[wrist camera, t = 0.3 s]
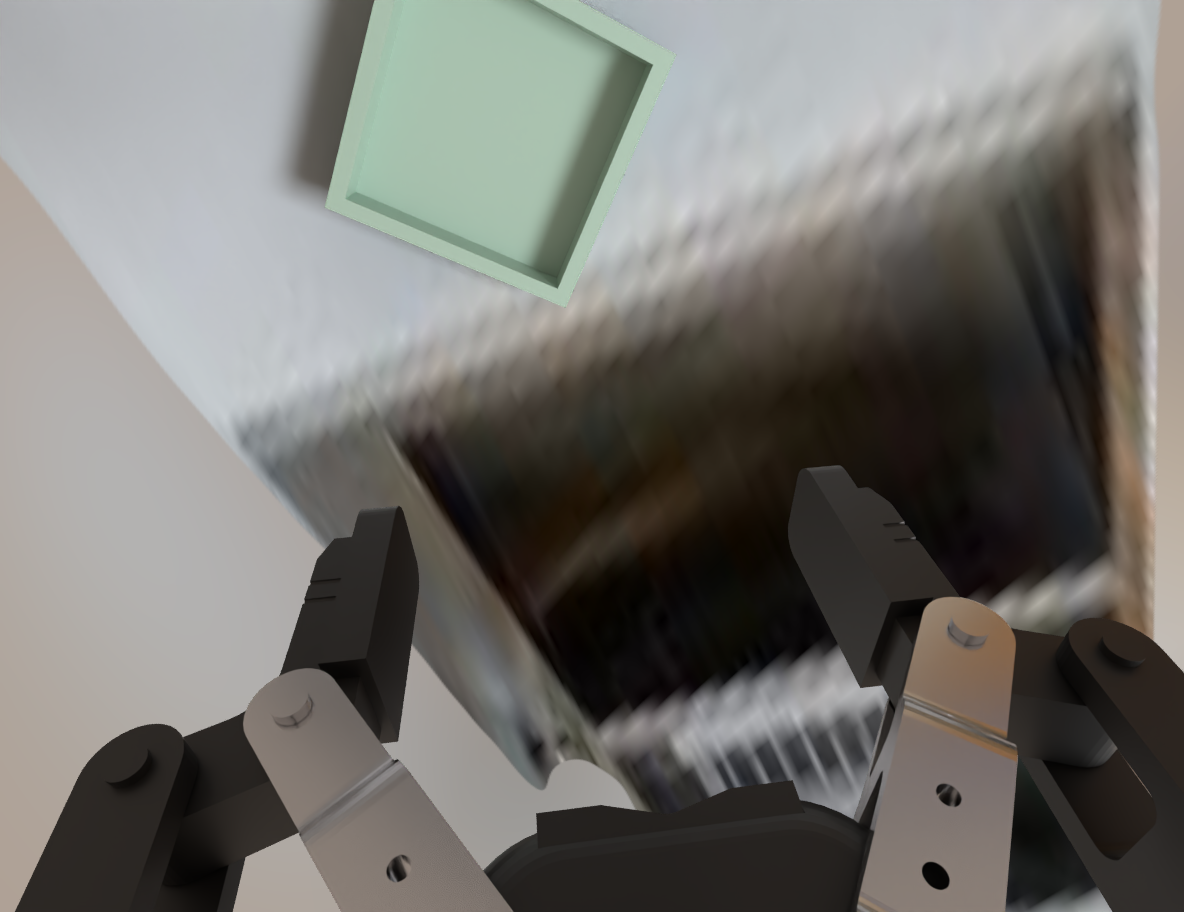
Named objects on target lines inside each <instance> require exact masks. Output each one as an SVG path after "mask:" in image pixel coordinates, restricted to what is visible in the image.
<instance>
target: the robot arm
mask: <svg viewBox="0 0 1184 912" xmlns="http://www.w3.org/2000/svg"><path fill="white" fill-rule="evenodd" d="M788 535H789V543H790V547H791V550H792V553H793V555H794V557H795V559H796V561H797V563H798V565H799V567H800V569H801V571H802V573H803V575H804V577H805V579H806V581H807V583H808V585H809V587H810V589H811V591H812V593H813V595H814V597H815V599H816V601H817V603H818V605H819V607H820V609H821V611H822V613H823V615H824V617H825V619H826V621H827V623H828V625H829V627H830V629H831V631H832V633H833V635H834V637H835V639H836V641H837V643H838V645H839V647H840V649H841V651H842V652H843V654H844V656H845V658H846V660H847V662H848V664H849V666H850V668H851V670H852V672H853V674H854V676H855V678H856V680H857V682H858V684H859V686H860V688H864V687H872V686H881V685H883V687H884V689H885V691H886V693H887V695H888V696H889V699H888V701H887V703H886V706H885V709H884V713H883V717H882V721H881V724H880V728H879V732H878V736H877V739H876V743H875V747H874V751H873V754H872V758H871V762H870V766H869V770H868V773H867V777H866V781H865V785H864V788H863V791H862V795H861V798H860V801H859V804H858V807H857V810H856V813H855V816H854V819H851V818H849V817H847V816H845V815H844V814H842V813H840V812H837V811H835V810H832V809H830V808H827V807H825V806H822V805H818V804H815V803H811V802H807V801H801V800H799V797H798V794H797V791H796V789H795V786H794V783H793V780H791V781H784V782H776V783H768V784H760V785H753V786H745V787H737V788H730V789H728V790H726V791H724V792H721V793H719V794H717V795H714V796H712V797H710V798H708V799H705V800H703V801H701V802H698V803H696V804H694V805H691V806H689V807H687V808H685V809H682V810H680V811H678V812H675V813H672V814H660V813H653V812H646V811H639V810H631V809H624V808H617V807H610V806H603V805H598V806H590V807H583V808H575V809H567V810H559V811H552V812H544V813H536V817H537V833H536V834H534V835H532V836H529V837H527V838H525V839H523V840H521V841H520V842H518V843H516V844H515V845H513V846H511V847H510V848H509V849H507V850H506V851H504V852H503V853H502V854H501V855H499V856H498V857H497V858H496V859H495V860H494V861H493V862H492V863H490V864H489V866H487V867H486V868H485V869H484V870H482V869H481V868H480V866H479V865H478V863H477V862H476V861H475V860H474V858H473V857H472V855H471V854H470V853H469V851H468V850H467V849H466V847H465V846H464V845H463V843H462V842H461V841H460V839H459V838H458V836H457V835H456V834H455V832H454V831H453V830H452V828H451V827H450V826H449V824H448V823H447V822H446V820H445V819H444V818H443V816H442V815H441V814H440V812H439V811H438V810H437V808H436V807H435V806H434V804H433V803H432V801H431V800H430V799H429V797H428V796H427V795H426V793H425V792H424V791H423V790H422V788H421V787H420V785H419V784H418V783H417V781H416V780H415V779H414V778H413V776H412V775H411V773H410V772H409V771H408V769H407V768H406V767H405V766H404V765H403V764H402V763H401V762H400V761H399V760H398V759H397V760H393V759H392V757H391V756H390V755H389V754H388V752H387V751H386V750H385V748H384V747H383V746H382V744H381V743H389V742H397V741H398V737H399V730H400V723H401V716H402V709H403V701H404V694H405V687H406V680H407V672H408V665H409V658H410V651H411V643H412V636H413V629H414V622H415V614H416V607H417V600H418V592H419V573H418V565H417V560H416V556H415V553H414V549H413V545H412V542H411V538H410V534H409V531H408V527H407V523H406V520H405V516H404V513H403V510H402V508H401V507H400V506H395V507H385V508H374V509H364V510H361V511H360V512H359V514H358V517H357V521H356V524H355V528H354V532H353V535H352V537H347V538H337V539H334V540H333V541H332V542H331V543H330V545H329V546H328V547H327V548H326V549H325V551H324V552H323V553H322V554H321V555H320V556H319V558H318V559H317V561H316V565H315V568H314V571H313V574H312V577H311V580H310V583H311V584H310V586H308V590H307V593H306V596H305V604H303V605H302V608H301V611H300V614H299V618H298V621H297V624H296V627H295V630H294V633H293V636H292V639H291V643H290V646H289V649H288V652H287V655H286V658H285V661H284V664H283V668H282V670H281V673H280V675H279V677H277V678H275V679H273V680H272V681H270V682H269V683H268V684H266V685H265V686H264V687H263V688H262V689H261V690H260V691H259V692H258V693H257V694H256V695H255V696H254V697H253V699H252V701H251V702H250V703H249V705H248V708H247V710H246V711H245V712H243V713H241V714H240V715H238V716H235V717H233V718H231V719H229V720H226V721H224V722H221V723H219V724H216V725H214V726H211V727H208V728H206V729H203V730H201V731H198V732H196V733H193V734H191V735H188V736H185V737H182V735H181V734H180V733H179V732H178V731H177V730H176V729H174V728H173V727H171V726H168V725H164V724H149V725H144V726H140V727H137V728H134V729H132V730H129V731H128V732H125V733H123V734H121V735H120V736H118V737H116V738H115V739H113V740H111V741H110V742H109V743H107V744H106V745H105V746H104V747H102V748H101V749H100V750H99V751H98V752H97V753H96V754H95V755H94V756H93V757H92V758H91V759H90V760H89V762H88V763H87V764H86V766H85V767H84V769H83V770H82V772H81V773H80V775H79V777H78V779H77V781H76V783H75V785H74V788H73V790H72V792H71V794H70V796H69V798H68V800H67V802H66V804H65V807H64V809H63V811H62V813H61V815H60V817H59V819H58V821H57V824H56V826H55V828H54V830H53V832H52V834H51V836H50V839H49V841H48V843H47V845H46V847H45V849H44V851H43V854H42V855H41V858H40V860H39V862H38V864H37V866H36V868H35V870H34V872H33V875H32V877H31V879H30V881H29V883H28V885H27V887H26V889H25V892H24V894H23V896H22V898H21V900H20V902H19V905H18V906H17V909H16V911H15V912H233V908H234V904H235V900H236V895H237V891H238V886H239V883H240V878H241V874H242V870H243V866H244V861H245V857H247V856H249V855H251V854H253V853H255V852H258V851H259V850H262V849H264V848H266V847H268V846H271V845H273V844H275V843H277V842H279V841H281V840H284V839H286V838H288V837H290V836H292V835H294V834H296V833H300V834H299V835H300V837H301V839H302V841H303V843H304V845H305V847H306V848H307V850H308V852H309V854H310V856H311V858H312V860H313V861H314V863H315V865H316V867H317V869H318V870H319V872H320V874H321V876H322V878H323V879H324V881H325V883H326V885H327V887H328V889H329V890H330V892H331V894H332V896H333V898H334V899H335V901H336V903H337V905H338V907H339V908H340V910H341V912H1005V904H1006V892H1007V880H1008V868H1009V856H1010V844H1011V832H1012V820H1013V808H1014V796H1015V784H1016V772H1017V759H1018V755H1019V757H1020V758H1021V760H1022V762H1023V763H1024V765H1025V767H1026V768H1027V770H1028V772H1029V773H1030V775H1031V777H1032V778H1033V780H1034V782H1035V783H1036V785H1037V787H1038V788H1039V790H1040V792H1041V793H1042V795H1043V797H1044V798H1045V800H1046V802H1047V803H1048V805H1049V807H1050V808H1051V810H1052V812H1053V813H1054V815H1055V817H1056V818H1057V820H1058V822H1059V823H1060V825H1061V827H1062V828H1063V830H1064V832H1065V833H1066V835H1067V837H1068V838H1069V840H1070V842H1071V843H1072V845H1073V847H1074V848H1075V850H1076V852H1077V853H1078V855H1079V857H1080V858H1081V860H1082V862H1083V863H1084V865H1085V867H1086V868H1087V870H1088V872H1089V873H1090V875H1091V877H1092V878H1093V880H1094V882H1095V883H1096V885H1097V887H1098V888H1099V890H1100V892H1101V893H1102V895H1103V897H1104V898H1105V900H1106V902H1107V903H1108V905H1109V907H1110V908H1111V910H1112V912H1184V673H1183V671H1182V670H1181V669H1180V668H1179V667H1178V666H1177V665H1176V664H1175V663H1174V662H1173V661H1172V659H1171V658H1170V657H1169V656H1168V655H1167V654H1166V653H1165V652H1164V651H1163V650H1162V649H1161V648H1160V647H1159V646H1158V645H1157V644H1156V643H1155V642H1154V641H1153V640H1151V639H1150V638H1149V637H1147V636H1146V635H1144V634H1143V633H1141V632H1139V631H1137V630H1136V629H1134V628H1132V627H1129V626H1127V625H1125V624H1122V623H1119V622H1116V621H1112V620H1108V619H1102V618H1087V619H1082V620H1080V621H1077V622H1076V623H1074V624H1073V625H1072V627H1071V628H1070V630H1069V631H1068V633H1067V634H1066V636H1065V637H1062V636H1055V635H1049V634H1042V633H1036V632H1029V631H1023V630H1017V629H1013V628H1010V627H1009V625H1008V624H1007V623H1006V621H1005V620H1004V619H1003V618H1002V617H1000V616H999V615H998V614H997V613H996V612H994V611H993V610H991V609H990V608H988V607H986V606H984V605H982V604H980V603H978V602H975V601H972V600H969V599H965V598H960V596H959V595H958V594H957V592H956V591H955V590H954V588H953V587H952V586H951V584H950V583H949V582H948V580H947V579H946V577H945V576H944V575H943V573H942V572H941V571H940V569H939V568H938V567H937V565H936V564H935V563H934V561H933V560H932V559H931V557H930V556H929V555H928V553H927V552H926V550H925V549H924V548H923V546H922V545H921V544H920V542H919V541H916V539H915V538H916V537H915V536H914V534H913V533H912V532H911V530H910V529H909V527H908V526H905V525H904V521H903V519H902V518H901V517H900V515H899V514H898V513H897V511H896V510H895V509H894V507H893V506H892V505H891V503H890V502H888V501H887V500H885V499H884V498H883V497H881V496H880V495H878V494H877V493H875V492H874V491H873V490H871V489H870V488H857V486H856V485H855V484H854V482H853V481H852V479H851V478H850V476H849V475H848V474H847V472H846V471H845V469H844V468H843V467H841V466H839V465H836V466H826V467H815V468H805V469H802V470H801V471H800V472H799V475H798V479H797V484H796V489H795V494H794V499H793V504H792V509H791V514H790V520H789V525H788ZM1117 748H1118V750H1119V751H1120V752H1121V754H1122V755H1123V756H1124V758H1125V759H1126V761H1127V762H1128V763H1129V765H1130V766H1131V767H1132V769H1133V770H1134V771H1135V773H1136V774H1137V776H1138V777H1139V778H1140V780H1141V781H1142V782H1143V784H1144V785H1145V786H1146V788H1147V789H1148V791H1149V792H1150V794H1151V796H1152V797H1151V796H1150V794H1149V793H1148V791H1147V790H1146V789H1145V787H1144V786H1143V785H1142V783H1141V782H1140V781H1139V779H1138V778H1137V776H1136V775H1135V774H1134V772H1133V771H1132V770H1131V768H1130V767H1129V765H1128V764H1127V763H1126V761H1125V760H1124V759H1123V757H1122V756H1121V755H1120V753H1119V752H1118V750H1117Z"/></svg>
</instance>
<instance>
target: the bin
mask: <svg viewBox="0 0 1184 912" xmlns="http://www.w3.org/2000/svg"><path fill="white" fill-rule="evenodd" d="M675 57H676V54H674V53H672V52H671V51H669V50H667V49H665V48H663V47H662V46H660V45H658V44H656V43H654V42H653V41H651V40H649V39H647V38H645V37H643V36H642V35H640V34H638V33H636V32H634V31H633V30H631V29H629V28H627V27H625V26H624V25H622V24H620V23H618V22H616V21H615V20H613V19H611V18H609V17H607V16H606V15H604V14H602V13H600V12H598V11H597V10H595V9H593V8H591V7H589V6H588V5H586V4H584V3H582V2H580V1H579V0H374V4H373V8H372V12H371V16H370V20H369V25H368V29H367V33H366V37H365V41H364V45H363V50H362V54H361V58H360V62H359V66H358V71H357V75H356V79H355V83H354V87H353V91H352V96H351V100H350V104H349V108H348V112H347V117H346V121H345V125H344V129H343V133H342V137H341V142H340V146H339V150H338V154H337V158H336V163H335V167H334V171H333V175H332V179H331V183H330V188H329V192H328V196H327V200H326V204H325V208H327V209H329V210H332V211H334V212H336V213H339V214H341V215H344V216H346V217H348V218H351V219H353V220H356V221H358V222H360V223H363V224H365V225H368V226H370V227H372V228H375V229H377V230H380V231H382V232H384V233H387V234H389V235H392V236H394V237H396V238H399V239H401V240H404V241H406V242H408V243H411V244H413V245H416V246H418V247H420V248H423V249H425V250H428V251H430V252H432V253H435V254H437V255H440V256H442V257H444V258H447V259H449V260H452V261H454V262H457V263H459V264H461V265H464V266H466V267H469V268H471V269H473V270H476V271H478V272H481V273H483V274H485V275H488V276H490V277H493V278H495V279H497V280H500V281H502V282H505V283H507V284H509V285H512V286H514V287H517V288H519V289H521V290H524V291H526V292H529V293H531V294H533V295H536V296H538V297H541V298H543V299H545V300H548V301H550V302H553V303H555V304H557V305H560V306H562V307H565V308H566V306H567V303H568V301H569V299H570V297H571V294H572V292H573V290H574V287H575V285H576V283H577V281H578V278H579V276H580V274H581V271H582V269H583V267H584V265H585V262H586V260H587V258H588V255H589V253H590V251H591V249H592V246H593V244H594V242H595V240H596V237H597V235H598V233H599V230H600V228H601V226H602V224H603V221H604V219H605V217H606V214H607V212H608V210H609V208H610V205H611V203H612V201H613V198H614V196H615V194H616V192H617V189H618V187H619V185H620V182H621V180H622V178H623V176H624V173H625V171H626V169H627V166H628V164H629V162H630V160H631V157H632V155H633V153H634V150H635V148H636V146H637V144H638V141H639V139H640V137H641V134H642V132H643V130H644V128H645V125H646V123H647V121H648V118H649V116H650V114H651V112H652V109H653V107H654V105H655V102H656V100H657V98H658V96H659V93H660V91H661V89H662V87H663V84H664V82H665V80H666V77H667V75H668V73H669V71H670V68H671V66H672V64H673V61H674V59H675Z"/></svg>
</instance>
